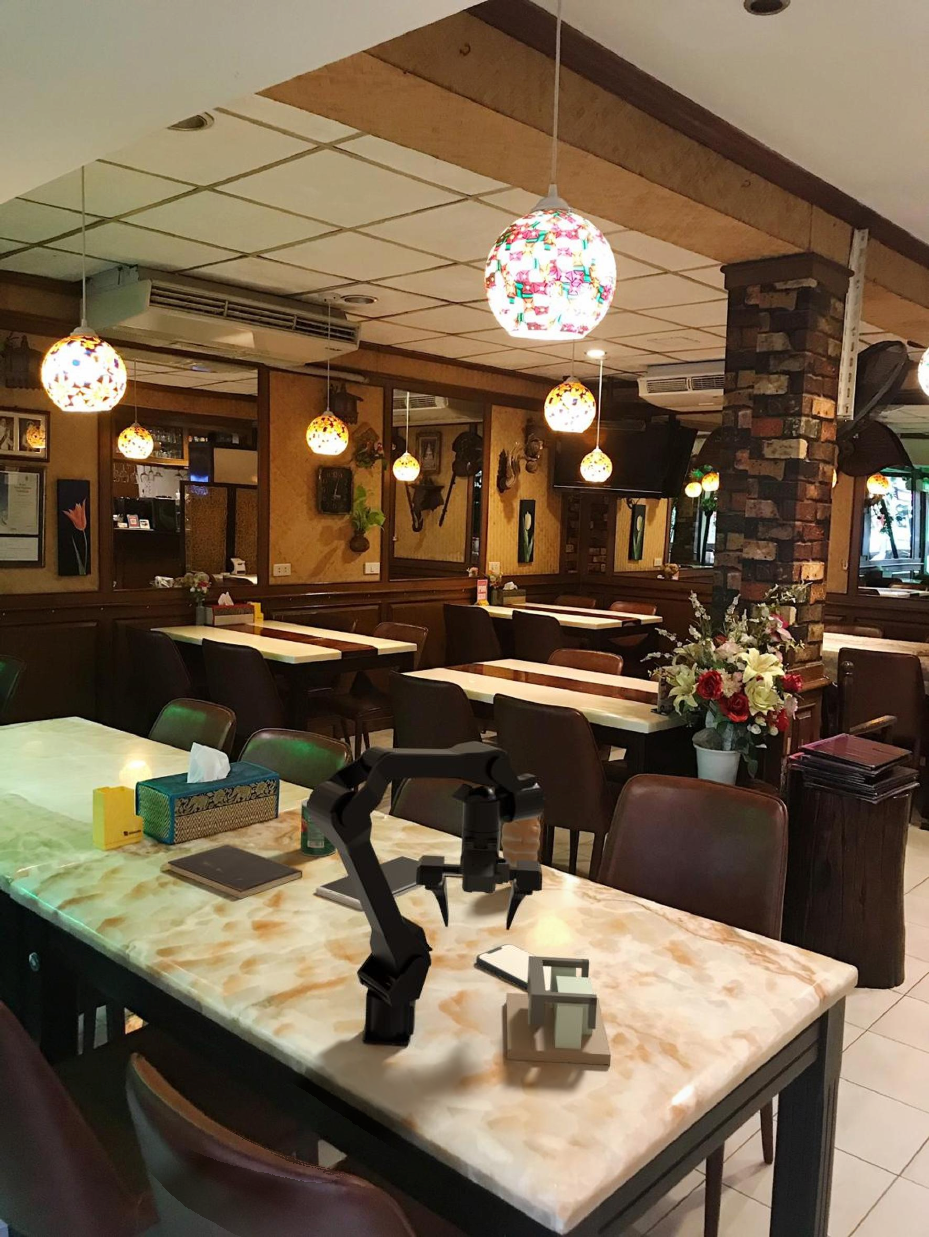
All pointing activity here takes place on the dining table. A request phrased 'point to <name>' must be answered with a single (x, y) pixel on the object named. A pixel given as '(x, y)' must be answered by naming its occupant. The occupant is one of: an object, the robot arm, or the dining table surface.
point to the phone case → (510, 965)
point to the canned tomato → (313, 836)
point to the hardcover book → (234, 870)
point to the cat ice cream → (521, 840)
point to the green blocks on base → (557, 1026)
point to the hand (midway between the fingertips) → (477, 927)
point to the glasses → (540, 995)
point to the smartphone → (397, 876)
